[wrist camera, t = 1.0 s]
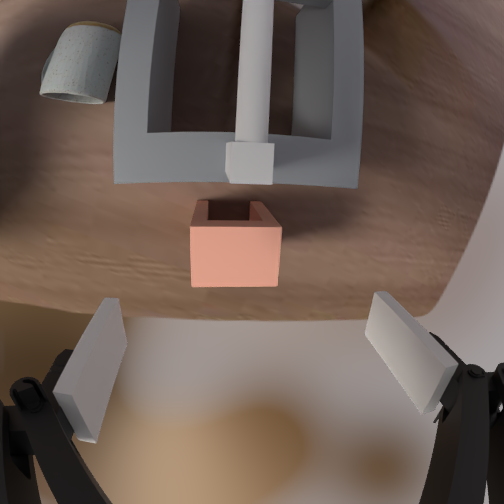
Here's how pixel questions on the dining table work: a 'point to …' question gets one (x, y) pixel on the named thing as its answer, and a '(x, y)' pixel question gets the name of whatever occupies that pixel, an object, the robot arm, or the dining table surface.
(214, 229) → the coral u-channel block
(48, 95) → the ceramic mug
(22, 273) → the dining table surface
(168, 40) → the gray square frame
